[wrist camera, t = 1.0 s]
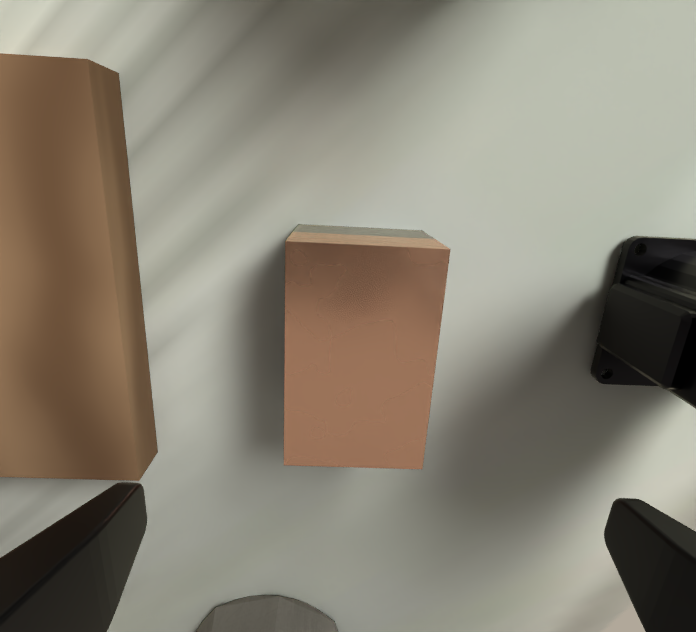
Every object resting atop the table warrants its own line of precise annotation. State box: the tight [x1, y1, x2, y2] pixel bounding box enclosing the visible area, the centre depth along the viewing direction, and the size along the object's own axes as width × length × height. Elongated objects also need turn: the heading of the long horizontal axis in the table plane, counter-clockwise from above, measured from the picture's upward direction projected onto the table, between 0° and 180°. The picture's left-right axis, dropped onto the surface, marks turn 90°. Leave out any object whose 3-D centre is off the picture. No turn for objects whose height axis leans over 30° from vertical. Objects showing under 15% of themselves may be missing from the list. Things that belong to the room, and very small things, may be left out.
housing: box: [284, 224, 450, 469], centre depth 17 cm, size 5×10×5 cm, turn 177°
